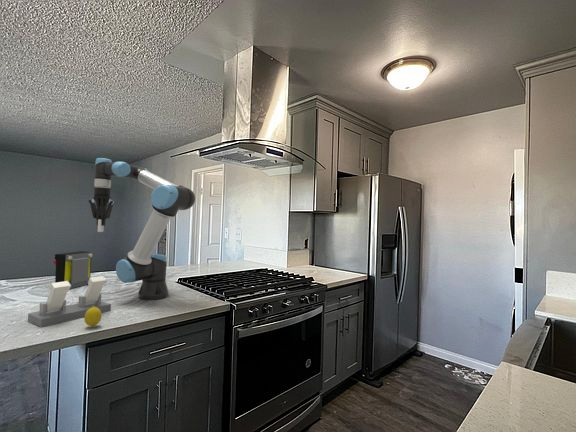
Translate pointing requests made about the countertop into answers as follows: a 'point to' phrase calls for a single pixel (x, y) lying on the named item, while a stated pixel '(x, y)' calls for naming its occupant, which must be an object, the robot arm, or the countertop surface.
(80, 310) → the block
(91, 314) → the lemon
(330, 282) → the countertop surface
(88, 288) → the lever
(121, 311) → the countertop surface
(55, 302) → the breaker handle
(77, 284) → the electrical component
